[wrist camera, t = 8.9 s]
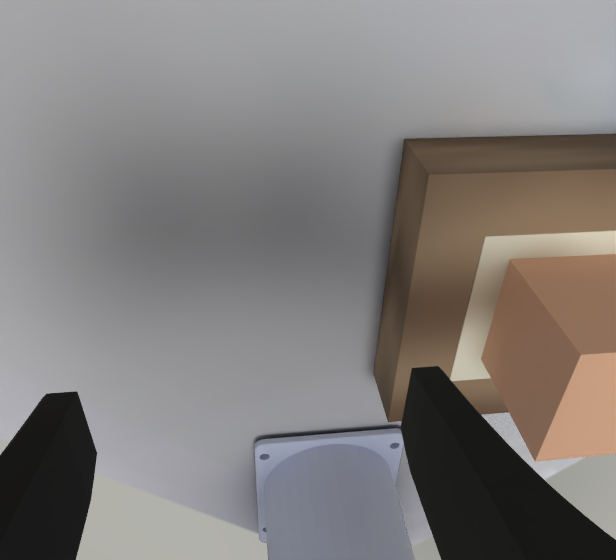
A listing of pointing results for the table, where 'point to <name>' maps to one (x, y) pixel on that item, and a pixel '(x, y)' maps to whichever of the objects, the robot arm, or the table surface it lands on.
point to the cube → (557, 353)
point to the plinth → (481, 245)
